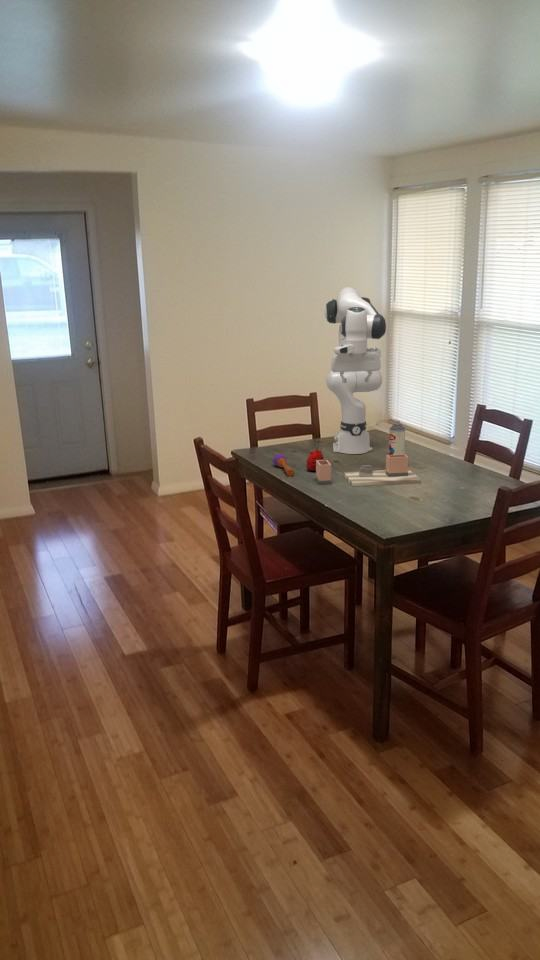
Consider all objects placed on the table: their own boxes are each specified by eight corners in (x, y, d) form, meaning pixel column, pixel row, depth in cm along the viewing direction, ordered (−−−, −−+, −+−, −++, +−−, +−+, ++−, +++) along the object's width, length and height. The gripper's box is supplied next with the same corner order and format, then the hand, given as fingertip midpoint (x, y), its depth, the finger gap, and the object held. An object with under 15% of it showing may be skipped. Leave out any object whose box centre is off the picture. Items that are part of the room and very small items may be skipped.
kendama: (282, 468, 308) (270, 453, 326) (285, 481, 310) (272, 465, 328) (296, 464, 309) (283, 450, 327) (298, 477, 311) (285, 462, 329)
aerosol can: (385, 464, 325) (386, 420, 320) (399, 463, 327) (401, 419, 321) (392, 468, 319) (394, 423, 313) (406, 467, 321) (408, 421, 315)
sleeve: (316, 479, 305) (316, 460, 303) (326, 478, 306) (327, 459, 303) (319, 484, 297) (319, 465, 295) (330, 483, 298) (331, 464, 296)
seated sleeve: (388, 476, 301) (389, 457, 299) (385, 473, 305) (386, 455, 303) (407, 475, 302) (408, 457, 300) (404, 472, 306) (405, 454, 304)
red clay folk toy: (319, 467, 322) (319, 434, 318) (327, 471, 316) (327, 437, 312) (303, 469, 319) (303, 436, 315) (311, 473, 313) (311, 439, 309)
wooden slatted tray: (343, 475, 309) (343, 461, 308) (408, 472, 313) (408, 458, 311) (352, 486, 294) (352, 471, 292) (420, 482, 297) (421, 468, 296)
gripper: (378, 347, 304) (378, 380, 307) (330, 348, 301) (329, 382, 305) (383, 348, 298) (382, 382, 301) (333, 349, 295) (333, 384, 299)
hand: (355, 382), depth 303 cm, fingers open, 8 cm apart
